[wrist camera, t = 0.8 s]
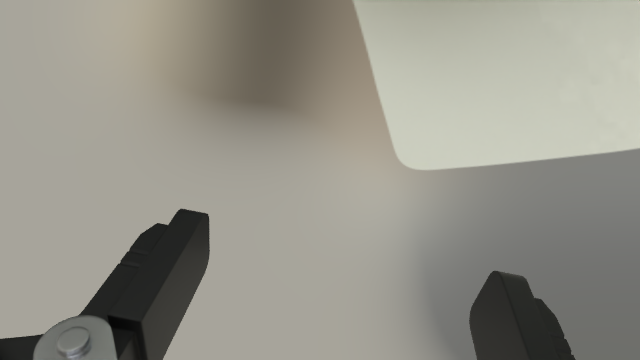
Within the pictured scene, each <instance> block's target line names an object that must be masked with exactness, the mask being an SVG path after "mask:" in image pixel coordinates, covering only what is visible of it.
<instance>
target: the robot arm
mask: <svg viewBox="0 0 640 360" xmlns="http://www.w3.org/2000/svg"><path fill="white" fill-rule="evenodd" d="M209 251H210V250H209V216H208V214H206V213H201V212H196V211H191V210H186V209H180V210H179V211H178V212H177V213H176V214H175V216H174V217H173V219H172V220H171V222H170V223H169V225H165V224H159V223H157V224H155V225H154V226H152V227H151V228H149V229H148V230H146V231H145V232H143V233H142V234H140V236H139V237H138V238H137V240H136V241H135V242H134V244H133V245H132V246H131V248H130V251H129V252H127V253H126V254H125V256H124V257H123V258H122V260H121V263H120V264H118V265H117V266H116V268H115V269H114V270H113V272H112V273H111V274H110V276H109V277H108V278H107V280H106V281H105V282H104V284H103V285H102V286H101V288H100V289H99V290H98V292H97V293H96V294H95V296H94V297H93V298H92V300H91V301H90V302H89V304H88V305H87V306H86V307H85V309H84V310H83V311H82V312H81V314H79V315H78V316H75V317H71V318H68V319H66V320H63V321H62V322H59V323H58V324H56V325H55V326H53V327H52V328H50V329H49V330H48V331H47V332H46V333H45V334H41V335H35V336H26V337H16V338H5V339H0V360H163V358H164V355H165V354H166V351H167V349H168V347H169V345H170V343H171V341H172V339H173V337H174V335H175V333H176V331H177V329H178V327H179V325H180V323H181V321H182V319H183V317H184V315H185V313H186V310H187V308H188V306H189V304H190V302H191V300H192V298H193V296H194V294H195V292H196V290H197V288H198V286H199V284H200V282H201V280H202V277H203V276H204V273H205V271H206V268H207V265H208V260H209ZM469 321H470V330H471V334H472V338H473V343H474V347H475V352H476V356H477V360H575V358H574V356H573V355H571V349H570V347H569V344H568V342H567V340H566V339H564V334H563V331H562V329H561V327H560V324H559V322H558V320H557V318H556V317H555V315H554V314H553V313H552V312H551V310H550V309H549V308H548V307H547V306H546V305H545V303H544V302H543V301H542V300H541V299H537V298H534V296H533V294H532V292H531V289H530V287H529V284H528V282H527V280H526V279H525V278H524V277H523V276H519V275H514V274H509V273H504V272H499V271H493V272H492V273H491V274H490V275H489V277H488V279H487V280H486V282H485V284H484V286H483V287H482V289H481V291H480V293H479V294H478V296H477V298H476V300H475V302H474V303H473V305H472V308H471V311H470V320H469Z"/></svg>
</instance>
